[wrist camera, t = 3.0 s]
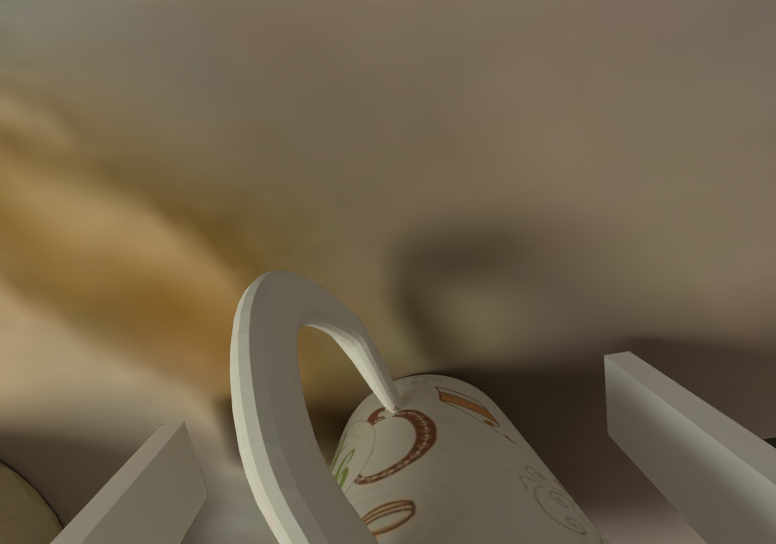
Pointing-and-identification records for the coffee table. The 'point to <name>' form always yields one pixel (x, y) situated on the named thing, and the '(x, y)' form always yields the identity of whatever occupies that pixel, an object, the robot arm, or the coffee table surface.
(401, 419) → the mug
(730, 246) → the coffee table surface
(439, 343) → the coffee table surface
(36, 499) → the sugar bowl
